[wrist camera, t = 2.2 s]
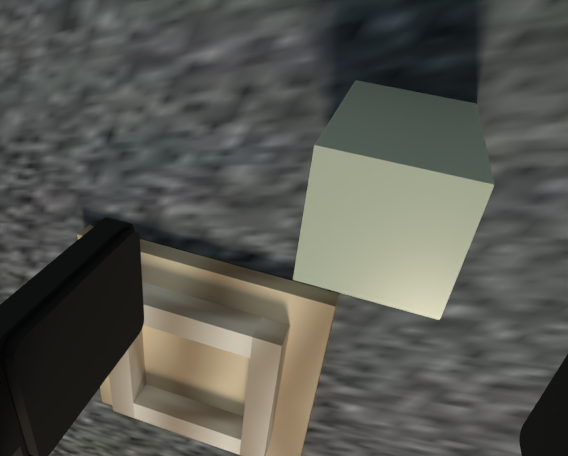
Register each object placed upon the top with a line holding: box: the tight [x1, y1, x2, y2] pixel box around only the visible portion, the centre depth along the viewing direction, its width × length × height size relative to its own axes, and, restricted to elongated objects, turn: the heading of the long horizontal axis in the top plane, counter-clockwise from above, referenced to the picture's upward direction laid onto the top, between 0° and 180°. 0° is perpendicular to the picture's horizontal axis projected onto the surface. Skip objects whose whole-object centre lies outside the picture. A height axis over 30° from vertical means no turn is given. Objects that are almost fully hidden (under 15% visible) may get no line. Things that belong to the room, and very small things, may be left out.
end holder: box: [77, 225, 339, 456], centre depth 27 cm, size 14×14×2 cm
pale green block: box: [293, 80, 494, 320], centre depth 16 cm, size 4×4×7 cm
